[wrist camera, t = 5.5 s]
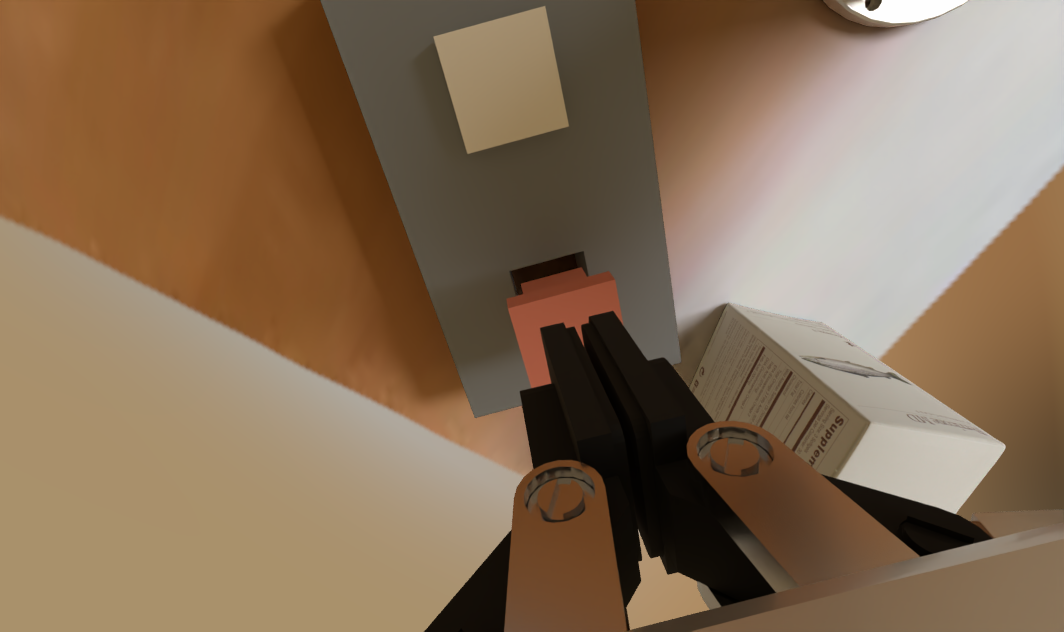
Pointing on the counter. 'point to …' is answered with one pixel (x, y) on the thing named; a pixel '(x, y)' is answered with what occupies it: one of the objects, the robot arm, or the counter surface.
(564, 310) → the red plug
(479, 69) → the ivory plug
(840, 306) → the counter surface
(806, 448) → the supplement box
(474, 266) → the plug panel
